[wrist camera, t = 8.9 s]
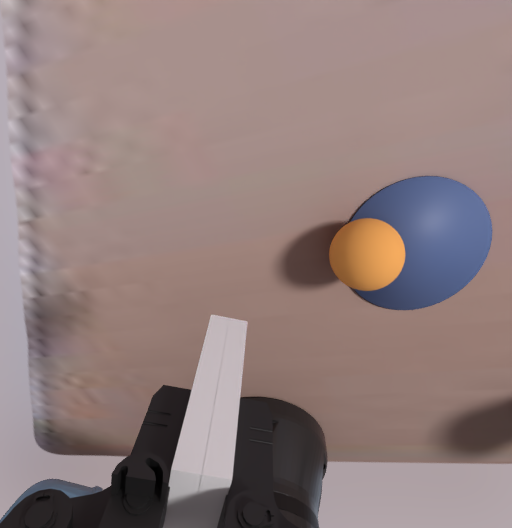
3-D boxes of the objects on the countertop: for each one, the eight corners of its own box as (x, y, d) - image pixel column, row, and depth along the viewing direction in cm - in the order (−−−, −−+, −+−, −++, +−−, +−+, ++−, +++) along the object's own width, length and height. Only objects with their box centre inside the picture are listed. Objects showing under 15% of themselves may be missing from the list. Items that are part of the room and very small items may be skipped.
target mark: (399, 331, 33) (400, 332, 33) (311, 250, 30) (311, 251, 30) (519, 246, 29) (521, 247, 29) (432, 141, 26) (433, 142, 26)
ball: (334, 307, 26) (336, 273, 31) (413, 301, 25) (402, 266, 30) (321, 240, 24) (325, 214, 29) (407, 228, 23) (397, 203, 28)
